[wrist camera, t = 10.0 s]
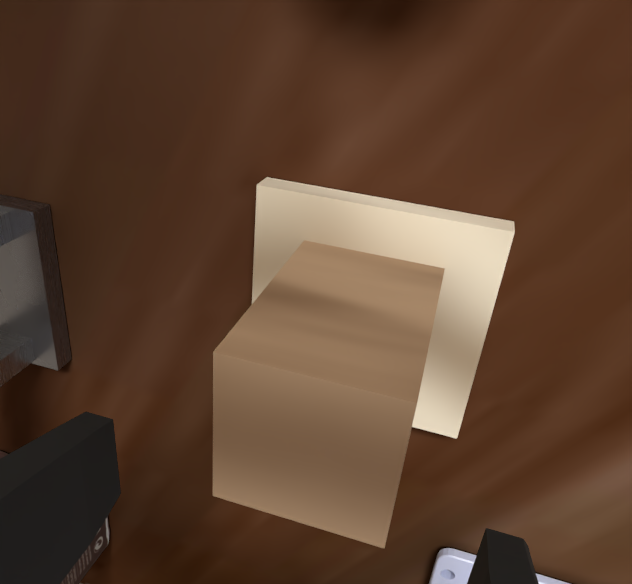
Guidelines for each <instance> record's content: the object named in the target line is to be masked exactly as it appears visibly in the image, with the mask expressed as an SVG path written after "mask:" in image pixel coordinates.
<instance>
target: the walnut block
mask: <svg viewBox="0 0 632 584" xmlns="http://www.w3.org/2000/svg"><path fill="white" fill-rule="evenodd" d="M444 270H445V268H440V267H435V266H430V265H425V264H420V263H415V262H410V261H405V260H400V259H395V258H390V257H385V256H380V255H375V254H370V253H365V252H360V251H355V250H350V249H345V248H340V247H335V246H330V245H325V244H320V243H315V242H310V241H306V240H304V241H303V242H302V244H301V245H300V246H299V247H298V249H297V250H296V251H295V252H294V253H293V255H292V256H291V257H290V258H289V260H288V261H287V262H286V263H285V264H284V266H283V267H282V268H281V269H280V271H279V272H278V273H277V274H276V276H275V277H274V278H273V279H272V280H271V282H270V283H269V284H268V285H267V287H266V288H265V289H264V290H263V291H262V293H261V294H260V295H259V296H258V298H257V299H256V300H255V301H254V303H253V304H252V305H251V306H250V307H249V309H248V310H247V311H246V312H245V314H244V315H243V316H242V317H241V318H240V320H239V321H238V322H237V323H236V325H235V326H234V327H233V328H232V330H231V331H230V332H229V333H228V334H227V336H226V337H225V338H224V339H223V341H222V342H221V343H220V344H219V345H218V347H217V348H216V349H215V350H214V352H213V496H215V497H218V498H221V499H225V500H228V501H231V502H234V503H238V504H241V505H244V506H247V507H251V508H254V509H257V510H260V511H264V512H267V513H270V514H274V515H277V516H280V517H283V518H287V519H290V520H293V521H296V522H300V523H303V524H306V525H309V526H313V527H316V528H319V529H322V530H326V531H329V532H332V533H335V534H339V535H342V536H345V537H348V538H352V539H355V540H358V541H361V542H365V543H368V544H371V545H374V546H378V547H381V548H385V544H386V539H387V535H388V530H389V526H390V522H391V517H392V513H393V508H394V504H395V499H396V495H397V490H398V486H399V482H400V477H401V473H402V468H403V464H404V459H405V455H406V450H407V446H408V442H409V437H410V433H411V428H412V424H413V419H414V415H415V410H416V406H417V401H418V396H419V392H420V387H421V382H422V377H423V372H424V367H425V363H426V358H427V353H428V348H429V343H430V338H431V333H432V329H433V324H434V319H435V314H436V309H437V304H438V300H439V295H440V290H441V285H442V280H443V275H444Z"/></svg>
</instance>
